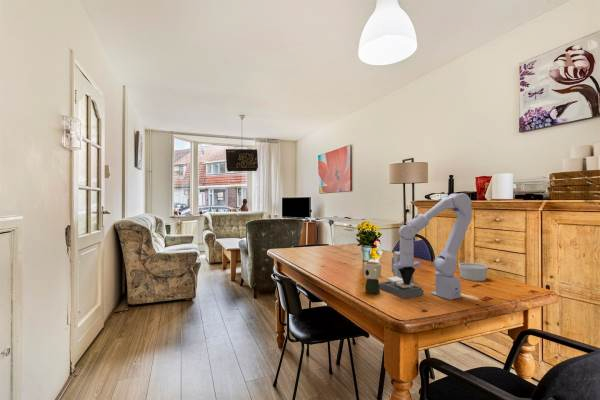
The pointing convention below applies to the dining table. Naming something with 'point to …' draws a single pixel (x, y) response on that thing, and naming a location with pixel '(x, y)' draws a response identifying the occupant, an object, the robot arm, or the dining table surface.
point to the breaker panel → (401, 290)
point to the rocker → (399, 282)
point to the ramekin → (473, 271)
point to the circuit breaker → (396, 260)
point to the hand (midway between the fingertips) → (406, 284)
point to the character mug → (372, 276)
